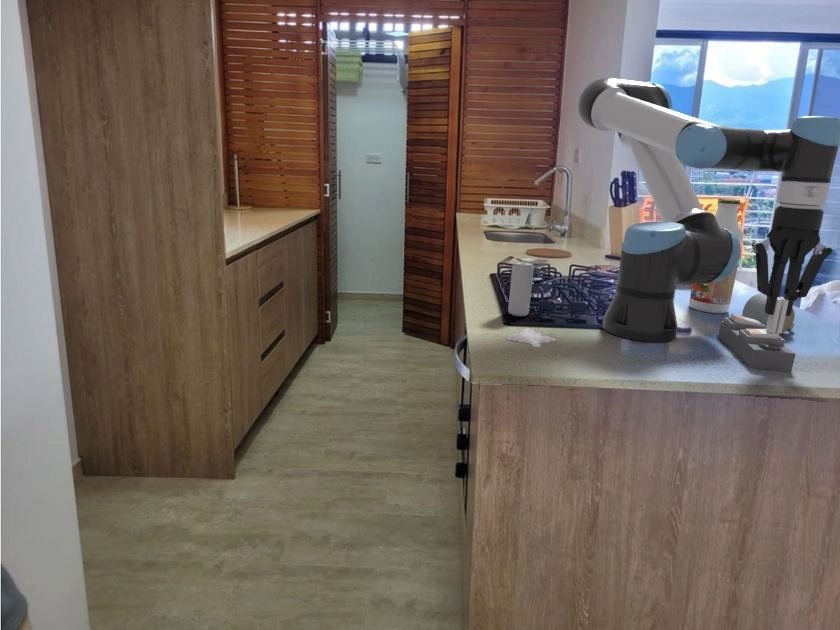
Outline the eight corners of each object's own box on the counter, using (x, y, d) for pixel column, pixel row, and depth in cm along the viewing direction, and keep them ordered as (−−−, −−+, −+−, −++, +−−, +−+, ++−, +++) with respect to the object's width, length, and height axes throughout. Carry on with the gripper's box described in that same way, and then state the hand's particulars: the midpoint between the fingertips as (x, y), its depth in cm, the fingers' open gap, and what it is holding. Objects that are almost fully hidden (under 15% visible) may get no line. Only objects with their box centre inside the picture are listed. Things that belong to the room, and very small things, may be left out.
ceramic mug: (770, 336, 128) (778, 302, 126) (738, 325, 135) (745, 293, 133) (802, 334, 132) (811, 301, 130) (769, 323, 139) (777, 292, 137)
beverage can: (505, 314, 134) (510, 263, 131) (510, 310, 138) (515, 260, 135) (526, 318, 132) (531, 266, 129) (530, 313, 137) (536, 262, 133)
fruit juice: (728, 316, 144) (752, 201, 136) (687, 310, 148) (707, 198, 140) (728, 308, 152) (750, 199, 145) (689, 302, 156) (708, 196, 149)
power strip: (750, 367, 107) (755, 343, 106) (717, 336, 126) (721, 315, 125) (791, 371, 106) (797, 347, 105) (752, 339, 125) (756, 319, 124)
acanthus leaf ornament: (506, 342, 116) (507, 333, 116) (522, 335, 121) (523, 326, 121) (540, 350, 112) (541, 341, 111) (555, 343, 117) (556, 334, 117)
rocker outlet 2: (750, 338, 111) (751, 333, 111) (745, 333, 114) (745, 328, 114) (778, 338, 110) (779, 333, 110) (771, 334, 113) (772, 328, 113)
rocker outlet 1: (735, 322, 120) (737, 317, 120) (730, 318, 123) (732, 313, 123) (758, 328, 119) (761, 323, 119) (753, 324, 122) (755, 319, 122)
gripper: (767, 205, 103) (742, 333, 109) (851, 210, 100) (821, 340, 107) (752, 203, 110) (729, 322, 116) (830, 207, 108) (803, 329, 114)
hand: (773, 331), depth 111 cm, fingers closed
